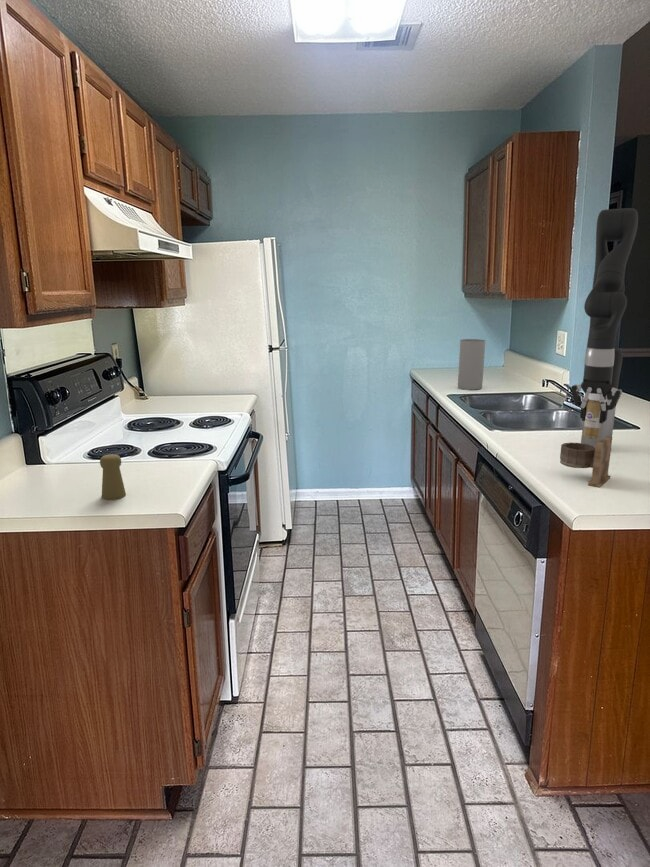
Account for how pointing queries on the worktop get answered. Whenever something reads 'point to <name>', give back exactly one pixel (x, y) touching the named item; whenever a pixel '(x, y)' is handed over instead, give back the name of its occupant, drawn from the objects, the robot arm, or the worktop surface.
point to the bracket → (589, 459)
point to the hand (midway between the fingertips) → (592, 421)
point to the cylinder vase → (471, 364)
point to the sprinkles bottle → (592, 417)
